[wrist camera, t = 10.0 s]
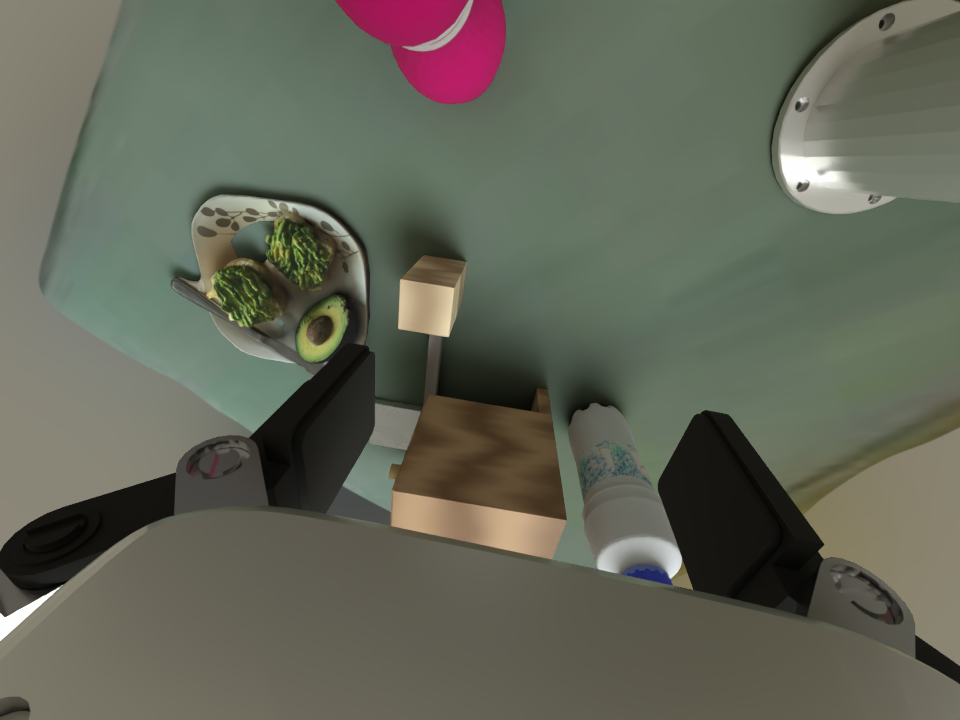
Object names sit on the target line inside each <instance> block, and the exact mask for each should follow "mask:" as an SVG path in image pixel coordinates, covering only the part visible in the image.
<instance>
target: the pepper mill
mask: <svg viewBox="0 0 960 720" xmlns="http://www.w3.org/2000/svg"><path fill="white" fill-rule="evenodd" d="M335 1H336V2H337V3H338V5H339V6H340V7H341V8H342V10H343V11H344V12H345V13H346V15H347V16H348V17H349V18H350V19H351V20H352V21H353V22H354V23H355V24H356V25H357V26H358V27H359V28H360V29H362V30H363V31H365V32H366V33H368V34H369V35H371V36H373V37H375V38H377V39H378V40H380V41H382V42H384V43H387V44H391V47H392V51H393V54H394V57H395V59H396V61H397V64H398V66H399V68H400V70H401V71H402V73H403V74H404V76H405V77H406V79H407V80H408V81H409V82H410V84H411V85H412V86H413V87H414V88H415V89H416V90H417V91H418V92H420V93H421V94H422V95H424V96H425V97H426V98H429V99H431V100H433V101H435V102H439V103H444V104H456V103H465V102H468V101H471V100H473V99H475V98H477V97H478V96H480V95H481V94H482V93H483V92H484V91H485V90H486V89H487V88H488V87H489V85H490V84H491V82H492V80H493V78H494V76H495V74H496V72H497V70H498V67H499V65H500V62H501V59H502V56H503V52H504V47H505V40H506V23H505V14H504V10H503V5H502V2H501V0H335Z"/></svg>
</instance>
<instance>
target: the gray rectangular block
mask: <svg viewBox="0 0 960 720" xmlns="http://www.w3.org/2000/svg"><path fill="white" fill-rule="evenodd" d="M422 408H423V406H417V405H412V404H406V403H400V402H395V401H389V400H383V399H378V398H375V426H374V430H373V433H372V435H371V437H370V444H374V445H380V446H386V447H391V448H397V449H403V450H407V448H408V446H409V443H410V440H411V438H412V435H413V432H414V430H415V427H416V424H417V421H418V419H419V416H420V413H421V411H422Z"/></svg>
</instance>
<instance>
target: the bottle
mask: <svg viewBox="0 0 960 720" xmlns="http://www.w3.org/2000/svg"><path fill="white" fill-rule="evenodd" d="M568 436H569V441H570V445H571V449H572V452H573V455H574V459H575V462H576V465H577V471H578V476H579V481H580V486H581V491H582V496H583V501H584V508H583V512H582V516H583V521H584V532H585V535H586V537H587V540H588V542H589V545H590V548H591V551H592V554H593V557H594V560H595V563H596V566H597V568H598V569H599V570H603V571H608V572H613V573H617V574H622V575H626V576H631V577H636V578H640V579H645V580H649V581H654V582H659V583H663V584H668V585H672V582H671V578H672V577H673V576H674V575H675V574H676V573H677V572H678V570H679V568H680V567H681V563H682V556H681V553H680V551H679V548H678V545H677V542H676V540H675V537H674V534H673V531H672V528H671V526H670V523H669V520H668V517H667V514H666V512H665V509H664V506H663V503H662V501H661V498H660V496H659V495H658V494H657V493H656V492H655V491H654V488H653V486H652V484H651V481H650V479H649V477H648V474H647V472H646V469H645V467H644V465H643V462H642V460H641V458H640V455H639V453H638V451H637V448H636V444H635V441H634V438H633V434H632V432H631V429H630V427H629V425H628V423H627V421H626V419H625V418H624V417H623V415H622V414H621V413H620V412H619V411H618V410H617V409H616V408H615V407H613V406H607V407H603V406H600V405H599V404H598V403H591V404H590V406H589V408H588V409H586V410H584V411H582V410H577V411H576V412H575V413H574V415H573V418H572V422H571V424H570V426H569V429H568ZM672 586H673V585H672Z"/></svg>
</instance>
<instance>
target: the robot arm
mask: <svg viewBox="0 0 960 720" xmlns="http://www.w3.org/2000/svg"><path fill="white" fill-rule="evenodd" d="M796 103H797V107H796V109H795V105H796ZM772 165H773V169H774V173H775V176H776V180H777V181H778V183H779V185H780V187H781V188H782V190H783V192H784V193H785V194H786V195H787V196H788V197H789V198H790V199H791V200H792V201H794V202H795V203H797V204H799V205H800V206H802V207H804V208H807V209H810V210H814V211H817V212H823V213H831V214H849V213H855V212H860V211H865V210H869V209H872V208H875V207H877V206H880V205H883V204H885V203H888V202H890V201H892V200H894V199H895V198H897V197H901V198H912V199H923V200H933V201H944V202H955V203H960V2H959V1H956V0H906V1H902V2H900V3H897V4H894V5H892V6H889V7H886V8H884V9H881V10H879V11H877V12H875V13H873V14H871V15H869V16H867V17H865V18H863V19H860V20H859V21H857V22H856V23H854V24H853V25H851V26H850V27H848V28H847V29H845V30H844V31H842V32H841V33H840V34H838V35H837V36H836V37H835V38H834V39H833V40H831V41H830V42H829V43H828V44H827V45H826V46H825V47H824V48H823V49H821V50H820V51H819V52H818V54H817V55H816V56H815V57H814V58H813V59H812V60H811V62H810V63H809V64H808V65H807V66H806V67H805V69H804V70H803V71H802V73H801V74H800V76H799V77H798V79H797V80H796V82H795V83H794V85H793V86H792V88H791V89H790V91H789V93H788V95H787V97H786V99H785V101H784V103H783V105H782V107H781V110H780V113H779V116H778V119H777V122H776V125H775V128H774V134H773V141H772ZM797 184H798V186H797ZM374 426H375V354H374V352H371V351H369V347H368V346H365V345H360V344H355V343H346V344H345V345H344V346H343V347H342V348H341V349H340V350H339V351H338V352H337V353H336V354H335V355H334V356H333V357H332V358H331V359H330V360H329V361H328V362H327V363H326V364H325V365H324V366H323V367H322V368H321V369H320V370H319V371H318V372H317V373H316V374H315V376H314V377H313V378H312V379H311V380H308V381H306V382H305V383H304V384H303V385H302V386H301V387H300V388H299V389H298V390H297V391H296V392H295V393H294V394H293V395H292V396H291V397H290V398H289V399H288V400H287V401H286V402H285V403H284V404H283V405H282V406H281V407H280V408H279V409H278V410H277V411H276V412H275V413H274V414H273V415H272V416H271V417H270V418H269V419H268V420H267V421H266V422H264V423H263V424H262V425H261V426H260V427H259V428H258V429H257V430H256V431H255V432H254V433H253V434H252V435H251V436H250V437H249V438H247V437H244V436H239V435H227V436H221V437H216V438H213V439H209V440H206V441H204V442H202V443H200V444H198V445H196V446H194V447H193V448H191V449H190V450H189V451H188V452H186V453H185V454H184V455H183V457H182V458H181V459H180V460H179V462H178V465H177V468H176V473H173V474H170V475H167V476H163V477H160V478H157V479H153V480H150V481H147V482H144V483H140V484H137V485H134V486H131V487H128V488H124V489H121V490H117V491H114V492H111V493H108V494H104V495H102V496H98V497H95V498H91V499H88V500H85V501H82V502H79V503H75V504H72V505H69V506H65V507H62V508H60V509H57V510H54V511H52V512H49V513H47V514H45V515H43V516H41V517H39V518H37V519H35V520H34V521H32V522H30V523H29V524H27V525H26V526H24V527H23V528H22V529H20V530H19V531H18V532H16V533H15V534H14V535H13V536H12V537H11V538H10V539H9V540H8V541H7V542H6V543H5V544H4V546H3V548H2V550H1V551H0V720H960V666H959V665H957V664H956V663H955V662H953V661H952V660H950V659H949V658H948V657H946V656H945V655H943V654H942V653H940V652H939V651H938V650H936V649H935V648H933V647H932V646H930V645H929V644H928V643H926V642H925V641H923V640H922V639H920V638H919V637H918V636H916V635H915V623H914V619H913V615H912V613H911V612H910V610H909V608H908V607H907V605H906V604H905V602H904V601H903V600H902V599H901V598H900V597H899V596H898V595H897V593H896V592H895V591H894V590H893V589H891V588H890V587H889V586H888V585H887V584H886V583H885V582H883V581H882V580H881V579H880V578H878V577H877V576H875V575H874V574H872V573H871V572H870V571H868V570H866V569H865V568H863V567H861V566H859V565H857V564H855V563H853V562H850V561H847V560H844V559H841V558H835V557H830V558H826V559H823V558H822V557H821V555H820V554H819V552H818V551H819V549H821V548H822V547H823V546H824V543H823V542H822V541H821V539H820V538H819V536H818V535H817V534H816V532H815V531H814V530H813V528H812V527H811V526H810V524H809V523H808V521H807V520H806V519H805V517H804V516H803V515H802V513H801V512H800V511H799V509H798V508H797V506H796V505H795V504H794V502H793V501H792V500H791V498H790V497H789V496H788V494H787V493H786V491H785V490H784V489H783V487H782V486H781V485H780V483H779V482H778V481H777V479H776V478H775V476H774V475H773V474H772V472H771V471H770V470H769V468H768V467H767V466H766V464H765V463H764V462H763V460H762V459H761V457H760V456H759V455H758V453H757V452H756V451H755V449H754V448H753V447H752V445H751V444H750V442H749V441H748V440H747V438H746V437H745V436H744V434H743V433H742V432H741V430H740V429H739V427H738V426H737V425H736V423H735V422H734V421H733V419H732V418H731V417H730V416H729V415H727V414H723V413H718V412H713V411H708V410H705V411H703V412H701V414H696V415H695V416H694V417H693V418H692V420H691V422H690V424H689V426H688V428H687V429H686V431H685V433H684V435H683V437H682V439H681V440H680V442H679V444H678V446H677V448H676V450H675V451H674V453H673V455H672V457H671V459H670V461H669V462H668V464H667V466H666V468H665V470H664V472H663V473H662V475H661V477H660V479H659V482H658V492H659V495H660V498H661V501H662V503H663V506H664V509H665V512H666V514H667V517H668V520H669V523H670V526H671V528H672V531H673V534H674V537H675V540H676V542H677V545H678V548H679V551H680V553H681V556H682V559H683V562H684V565H685V567H686V570H687V573H688V576H689V578H690V581H691V584H692V587H693V590H691V589H686V588H682V587H676V586H672V585H668V584H663V583H659V582H654V581H649V580H645V579H640V578H636V577H631V576H626V575H622V574H617V573H613V572H608V571H603V570H599V569H594V568H589V567H585V566H580V565H575V564H570V563H566V562H561V561H556V560H552V559H547V558H542V557H537V556H533V555H528V554H523V553H519V552H514V551H509V550H504V549H500V548H495V547H490V546H485V545H481V544H476V543H471V542H466V541H461V540H456V539H451V538H447V537H442V536H437V535H432V534H427V533H422V532H417V531H413V530H408V529H403V528H398V527H393V526H388V525H383V524H378V523H373V522H368V521H362V520H357V519H351V518H346V517H341V516H335V515H330V514H326V512H327V511H328V509H329V507H330V505H331V504H332V502H333V500H334V499H335V497H336V495H337V493H338V491H339V490H340V488H341V487H342V485H343V483H344V481H345V480H346V478H347V476H348V475H349V473H350V471H351V469H352V468H353V466H354V464H355V463H356V461H357V459H358V457H359V456H360V454H361V452H362V451H363V449H364V447H365V445H366V444H367V442H368V440H369V439H370V437H371V435H372V433H373V430H374Z"/></svg>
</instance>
